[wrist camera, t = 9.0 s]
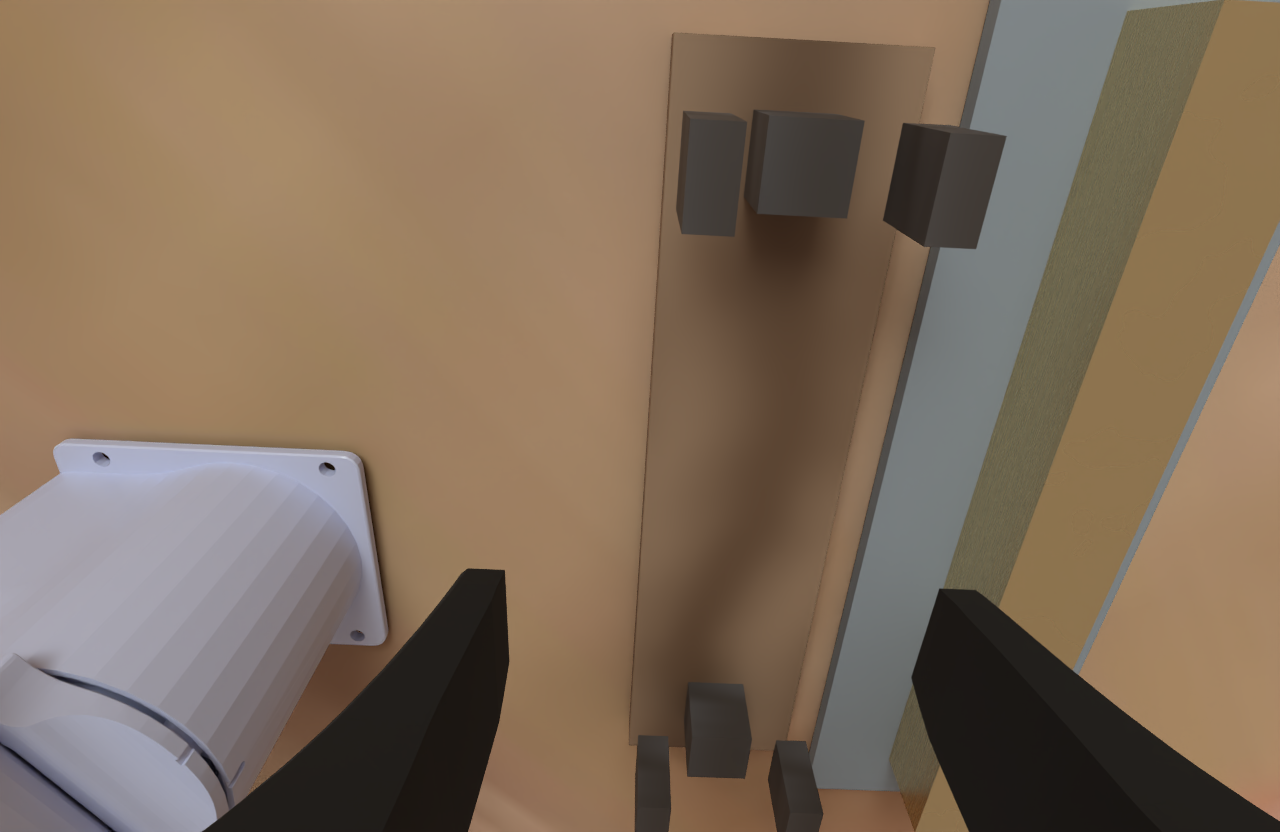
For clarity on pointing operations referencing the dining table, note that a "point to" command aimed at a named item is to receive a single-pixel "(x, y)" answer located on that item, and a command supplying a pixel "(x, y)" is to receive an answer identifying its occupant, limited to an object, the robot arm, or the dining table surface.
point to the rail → (1119, 332)
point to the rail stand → (769, 374)
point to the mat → (972, 369)
